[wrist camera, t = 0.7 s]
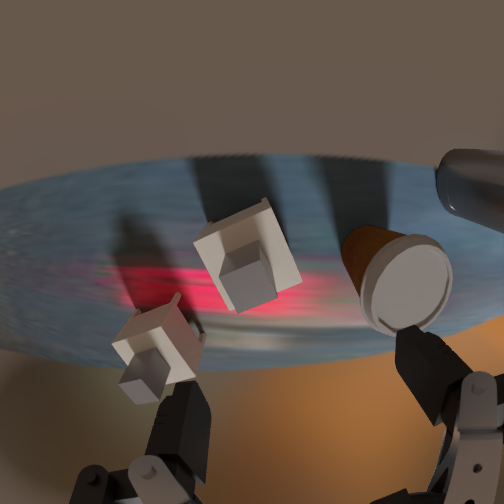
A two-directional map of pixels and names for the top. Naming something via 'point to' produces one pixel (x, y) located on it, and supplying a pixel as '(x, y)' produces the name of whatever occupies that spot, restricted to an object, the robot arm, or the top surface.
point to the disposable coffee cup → (397, 277)
